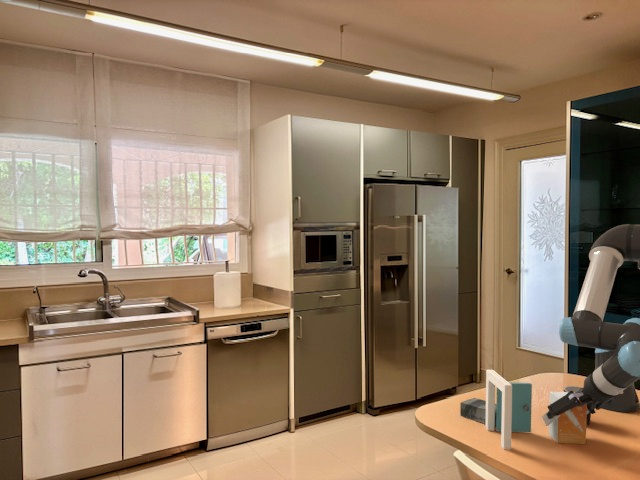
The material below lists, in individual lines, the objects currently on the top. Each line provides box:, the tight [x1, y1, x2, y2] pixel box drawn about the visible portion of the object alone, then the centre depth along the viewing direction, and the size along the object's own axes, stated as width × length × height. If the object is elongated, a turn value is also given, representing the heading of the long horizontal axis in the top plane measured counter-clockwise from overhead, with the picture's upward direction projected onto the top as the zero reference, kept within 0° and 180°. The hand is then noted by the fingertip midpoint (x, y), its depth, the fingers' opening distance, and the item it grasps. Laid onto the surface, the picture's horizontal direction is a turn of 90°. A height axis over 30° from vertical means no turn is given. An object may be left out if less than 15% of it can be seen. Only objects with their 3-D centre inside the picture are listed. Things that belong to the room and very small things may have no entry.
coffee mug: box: [563, 385, 592, 427], centre depth 154 cm, size 12×9×10 cm
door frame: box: [484, 369, 512, 451], centre depth 141 cm, size 2×14×18 cm, turn 0°
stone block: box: [459, 397, 497, 429], centre depth 155 cm, size 9×14×5 cm, turn 39°
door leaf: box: [495, 381, 533, 433], centre depth 144 cm, size 2×10×14 cm, turn 85°
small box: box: [548, 391, 587, 445], centre depth 140 cm, size 8×6×13 cm
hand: (559, 419), depth 143 cm, fingers closed on small box, 9 cm apart
